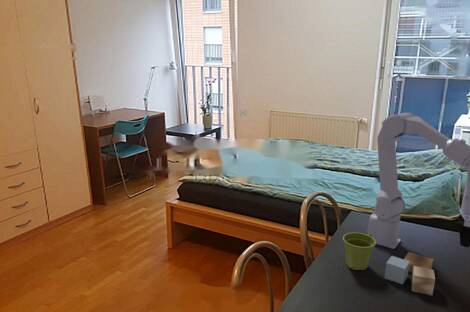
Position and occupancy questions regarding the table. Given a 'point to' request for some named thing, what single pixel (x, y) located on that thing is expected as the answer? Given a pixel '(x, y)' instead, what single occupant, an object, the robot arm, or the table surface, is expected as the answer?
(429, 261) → the oak block
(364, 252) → the plant pot
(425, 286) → the beech cube
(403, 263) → the grey cube
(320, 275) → the table surface
